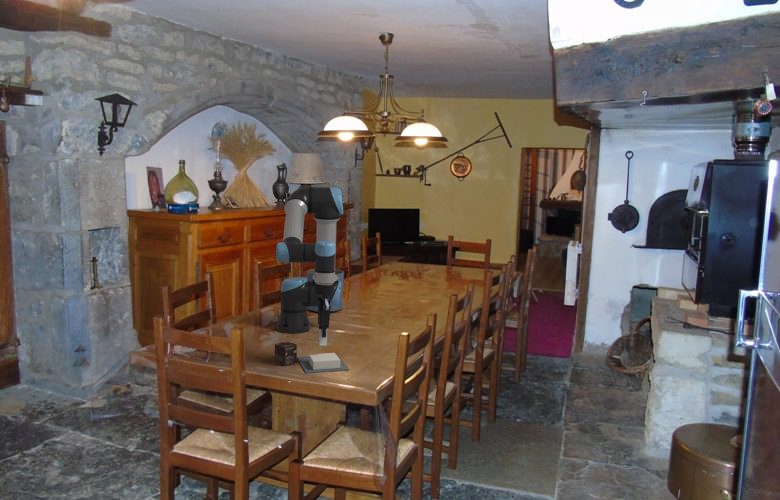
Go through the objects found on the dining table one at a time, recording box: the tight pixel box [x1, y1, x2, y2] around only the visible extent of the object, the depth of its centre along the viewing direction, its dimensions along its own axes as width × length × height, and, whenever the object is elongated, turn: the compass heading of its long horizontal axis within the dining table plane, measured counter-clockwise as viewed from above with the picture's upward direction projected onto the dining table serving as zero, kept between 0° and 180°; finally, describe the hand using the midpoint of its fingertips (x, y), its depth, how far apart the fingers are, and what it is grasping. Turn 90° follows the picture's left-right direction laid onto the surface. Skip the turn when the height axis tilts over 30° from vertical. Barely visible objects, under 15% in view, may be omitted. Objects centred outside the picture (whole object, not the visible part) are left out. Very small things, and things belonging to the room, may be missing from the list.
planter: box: [306, 268, 345, 313], centre depth 318 cm, size 19×19×20 cm
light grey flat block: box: [308, 352, 342, 370], centre depth 230 cm, size 3×10×9 cm
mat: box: [297, 354, 350, 374], centre depth 233 cm, size 18×16×1 cm
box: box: [274, 341, 298, 367], centre depth 232 cm, size 6×6×7 cm
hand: (322, 344), depth 232 cm, fingers closed
